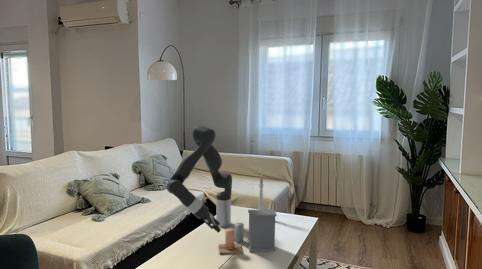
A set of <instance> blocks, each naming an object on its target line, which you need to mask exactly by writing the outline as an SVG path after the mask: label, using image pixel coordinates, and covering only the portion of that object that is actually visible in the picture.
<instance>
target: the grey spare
mask: <svg viewBox="0 0 482 269" xmlns="http://www.w3.org/2000/svg"><path fill="white" fill-rule="evenodd" d="M244 226H245V225H244V223H243V222H235V223H234V230H235V244H237V243H240V244H241V243H244V232H245V230H244Z"/></svg>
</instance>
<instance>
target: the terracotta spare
mask: <svg viewBox="0 0 482 269" xmlns="http://www.w3.org/2000/svg"><path fill="white" fill-rule="evenodd" d="M224 231H225V236H224V237H225V238H224V239H225V241H224V242H225V243H224V244H225V248H226V249H227V250H233V249H234V248H235V244H236V242H235V228H231V227H230V228H226V229H225V230H224Z"/></svg>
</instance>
